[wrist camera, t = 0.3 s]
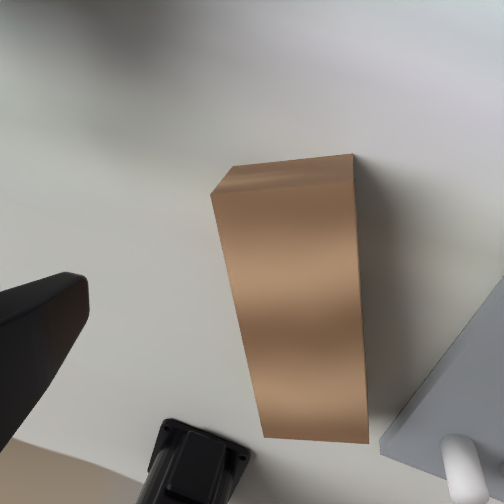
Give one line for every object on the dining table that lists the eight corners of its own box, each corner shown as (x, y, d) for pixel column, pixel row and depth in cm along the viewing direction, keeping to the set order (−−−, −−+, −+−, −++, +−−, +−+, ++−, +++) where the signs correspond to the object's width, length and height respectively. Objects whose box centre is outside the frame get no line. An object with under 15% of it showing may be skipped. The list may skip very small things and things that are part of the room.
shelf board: (367, 385, 25) (369, 444, 22) (275, 383, 27) (264, 437, 23) (352, 151, 19) (352, 181, 16) (234, 164, 20) (210, 194, 17)
